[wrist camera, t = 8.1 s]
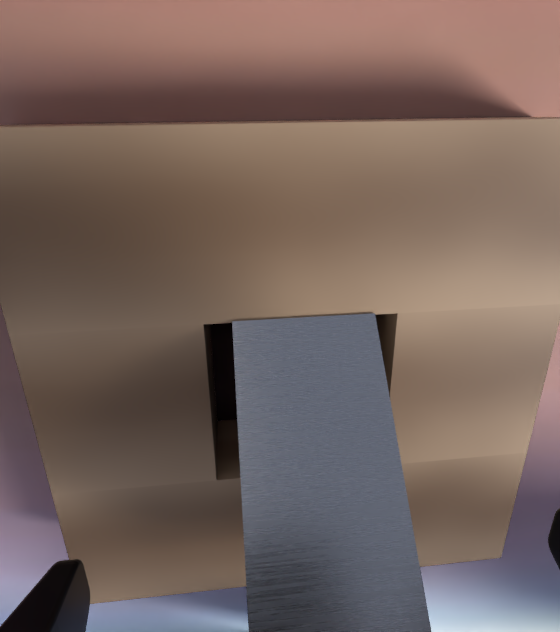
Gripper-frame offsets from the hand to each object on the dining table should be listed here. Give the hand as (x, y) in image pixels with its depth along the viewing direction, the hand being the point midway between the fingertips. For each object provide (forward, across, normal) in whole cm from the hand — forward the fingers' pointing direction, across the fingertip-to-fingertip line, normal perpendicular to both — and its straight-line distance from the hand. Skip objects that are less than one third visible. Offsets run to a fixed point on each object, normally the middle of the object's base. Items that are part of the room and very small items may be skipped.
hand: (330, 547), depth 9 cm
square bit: (+6, 0, -1) cm, 6 cm away
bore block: (+8, 0, 0) cm, 8 cm away
